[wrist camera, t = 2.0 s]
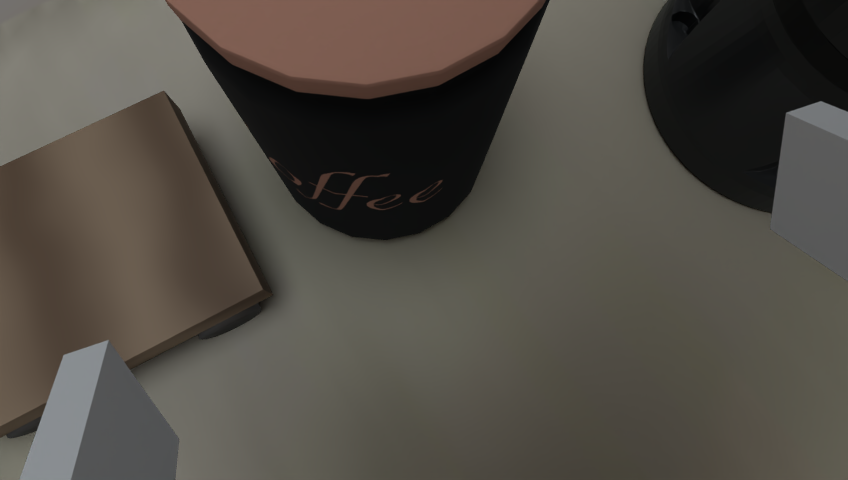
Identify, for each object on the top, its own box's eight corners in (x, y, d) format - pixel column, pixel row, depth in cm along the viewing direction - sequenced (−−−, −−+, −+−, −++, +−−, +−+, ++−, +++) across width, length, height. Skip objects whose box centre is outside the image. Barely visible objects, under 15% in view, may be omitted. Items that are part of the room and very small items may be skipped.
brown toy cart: (200, 133, 31) (163, 90, 26) (285, 301, 30) (263, 289, 25) (-62, 258, 30) (-154, 237, 25) (13, 444, 28) (-69, 462, 23)
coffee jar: (238, 173, 31) (23, -74, 13) (353, 18, 33) (298, -376, 15) (412, 284, 30) (427, 177, 13) (519, 118, 32) (662, -177, 15)
